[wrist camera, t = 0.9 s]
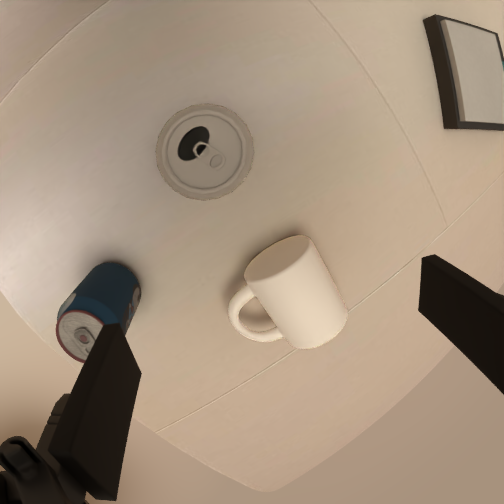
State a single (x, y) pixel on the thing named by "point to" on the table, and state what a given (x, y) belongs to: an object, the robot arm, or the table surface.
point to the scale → (467, 73)
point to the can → (204, 152)
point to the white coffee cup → (292, 295)
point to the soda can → (97, 308)
